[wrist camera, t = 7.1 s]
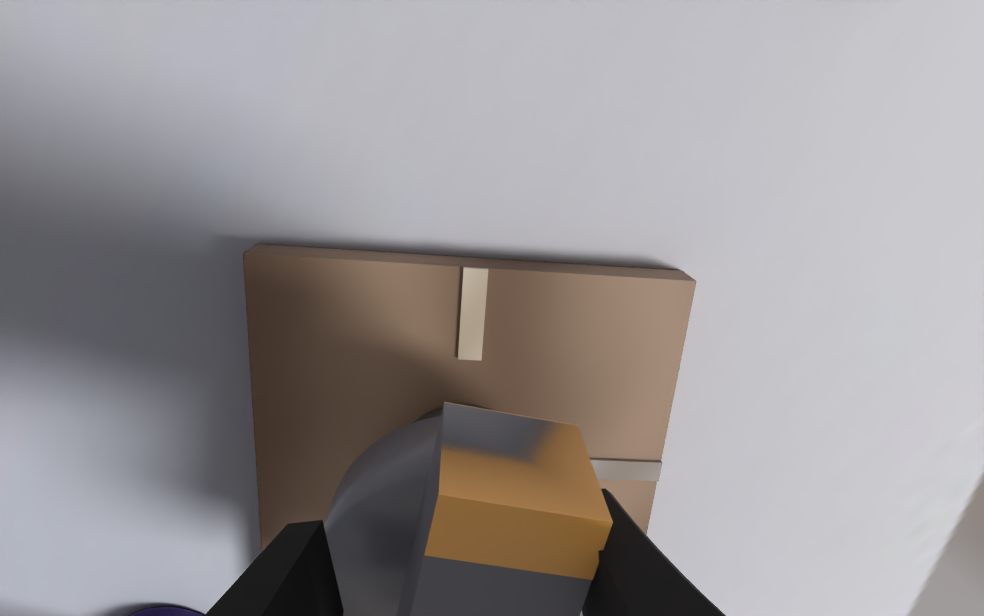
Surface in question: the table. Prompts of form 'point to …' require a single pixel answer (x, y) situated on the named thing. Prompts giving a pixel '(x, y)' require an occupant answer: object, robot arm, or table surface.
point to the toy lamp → (165, 612)
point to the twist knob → (469, 519)
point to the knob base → (453, 360)
